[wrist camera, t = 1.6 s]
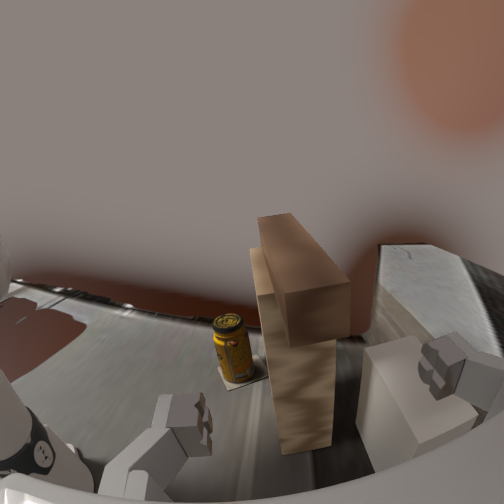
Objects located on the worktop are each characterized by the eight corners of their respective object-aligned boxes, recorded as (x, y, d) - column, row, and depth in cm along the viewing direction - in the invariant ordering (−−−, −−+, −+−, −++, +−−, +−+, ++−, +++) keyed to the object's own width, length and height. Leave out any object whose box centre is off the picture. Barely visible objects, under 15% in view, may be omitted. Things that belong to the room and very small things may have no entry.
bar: (290, 350, 19) (284, 293, 17) (262, 250, 37) (257, 217, 36) (349, 338, 19) (350, 281, 17) (294, 245, 38) (290, 212, 36)
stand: (281, 455, 35) (257, 295, 26) (271, 394, 47) (249, 248, 38) (331, 445, 35) (335, 282, 26) (312, 387, 47) (303, 240, 38)
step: (386, 503, 23) (419, 443, 18) (355, 423, 37) (364, 348, 33) (435, 482, 23) (478, 414, 18) (397, 410, 38) (413, 334, 33)
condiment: (217, 368, 55) (203, 316, 52) (257, 354, 58) (248, 303, 54) (228, 391, 49) (213, 338, 45) (272, 375, 51) (264, 321, 47)
